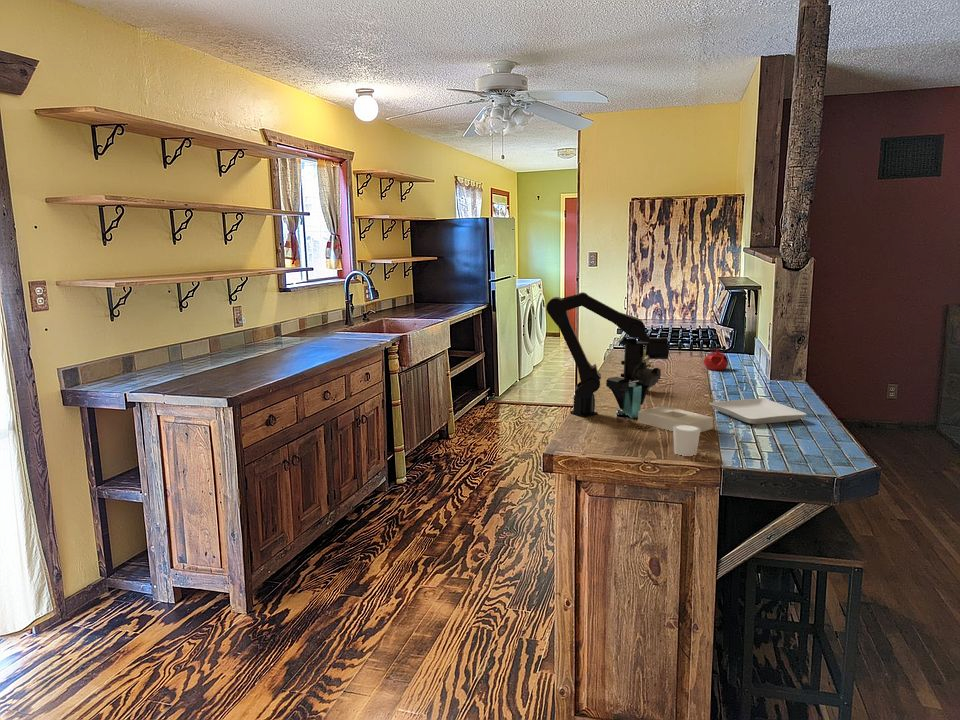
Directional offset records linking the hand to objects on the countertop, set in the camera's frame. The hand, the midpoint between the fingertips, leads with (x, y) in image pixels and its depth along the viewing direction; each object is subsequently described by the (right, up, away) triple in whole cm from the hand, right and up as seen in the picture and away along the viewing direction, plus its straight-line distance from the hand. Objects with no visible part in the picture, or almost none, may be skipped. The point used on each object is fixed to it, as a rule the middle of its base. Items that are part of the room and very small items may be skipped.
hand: (631, 406), depth 210 cm
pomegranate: (+54, +10, +78) cm, 96 cm away
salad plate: (+40, -4, +1) cm, 40 cm away
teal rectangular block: (0, -3, +1) cm, 3 cm away
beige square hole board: (+11, -5, -10) cm, 15 cm away
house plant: (+11, +3, +35) cm, 37 cm away
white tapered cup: (+6, -10, -36) cm, 38 cm away
